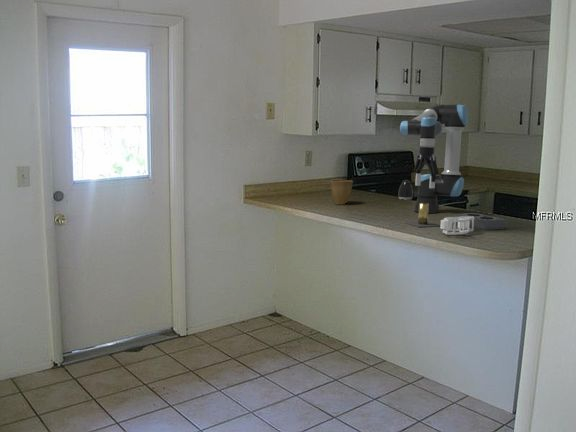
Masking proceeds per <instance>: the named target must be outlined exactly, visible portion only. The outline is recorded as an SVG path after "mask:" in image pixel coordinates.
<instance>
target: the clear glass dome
mask: <svg viewBox="0 0 576 432" xmlns="http://www.w3.org/2000/svg"><path fill="white" fill-rule="evenodd" d="M412 183H413V181H410V180H408V179H404V180H403V181H402V182H401V184H400V186H399V189H398V194H397V197H398V199H399V200H401V199H404V200H405V201H409V200H410V201H411V200H412V199H413V197H414V195H413V194H414V191H413V186H412Z"/></svg>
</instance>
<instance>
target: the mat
mask: <svg viewBox="0 0 576 432" xmlns="http://www.w3.org/2000/svg"><path fill="white" fill-rule="evenodd" d="M404 224H406V225H409V226H413V227H416V228H436V227H438V228H440V227H441V224H437V223H434V222H430V221H428V224H427V225H421V224H418V221H405V222H404Z"/></svg>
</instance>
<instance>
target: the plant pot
mask: <svg viewBox="0 0 576 432" xmlns="http://www.w3.org/2000/svg"><path fill="white" fill-rule="evenodd" d="M353 183H354V181H353V180H351V179H349V180H348V179H331V180H330V189H331V195H332V199H333V201H334V204H335V203H339V204H345V203H348V201H349V198H350V195H351V192H352V188H353Z"/></svg>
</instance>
